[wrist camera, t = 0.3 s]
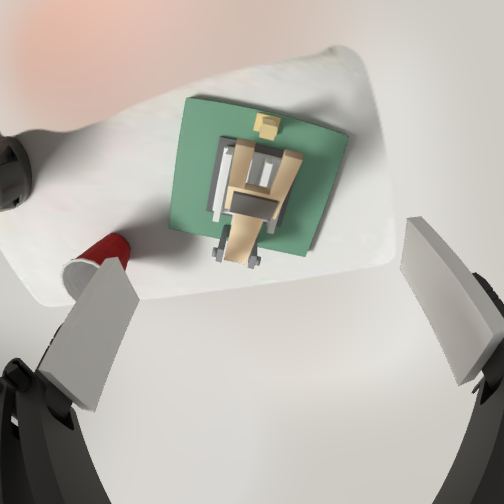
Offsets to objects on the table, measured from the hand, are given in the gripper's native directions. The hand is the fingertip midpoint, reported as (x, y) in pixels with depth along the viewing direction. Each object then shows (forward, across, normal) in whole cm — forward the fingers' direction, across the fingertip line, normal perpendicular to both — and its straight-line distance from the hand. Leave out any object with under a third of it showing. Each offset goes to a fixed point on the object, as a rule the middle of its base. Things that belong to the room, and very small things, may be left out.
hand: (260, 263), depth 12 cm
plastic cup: (+29, -28, -13) cm, 42 cm away
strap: (+17, -2, -6) cm, 18 cm away
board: (+28, -2, -5) cm, 29 cm away
